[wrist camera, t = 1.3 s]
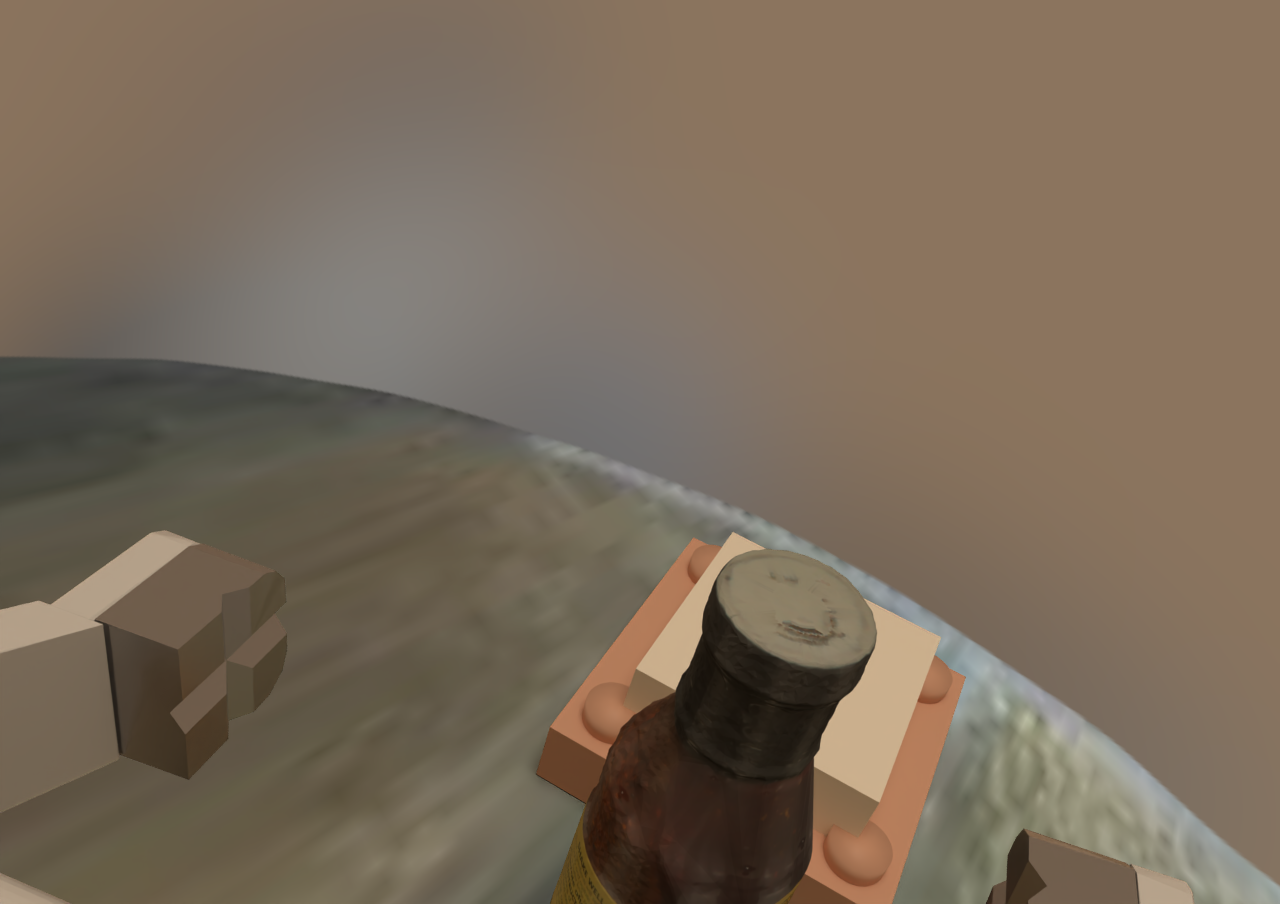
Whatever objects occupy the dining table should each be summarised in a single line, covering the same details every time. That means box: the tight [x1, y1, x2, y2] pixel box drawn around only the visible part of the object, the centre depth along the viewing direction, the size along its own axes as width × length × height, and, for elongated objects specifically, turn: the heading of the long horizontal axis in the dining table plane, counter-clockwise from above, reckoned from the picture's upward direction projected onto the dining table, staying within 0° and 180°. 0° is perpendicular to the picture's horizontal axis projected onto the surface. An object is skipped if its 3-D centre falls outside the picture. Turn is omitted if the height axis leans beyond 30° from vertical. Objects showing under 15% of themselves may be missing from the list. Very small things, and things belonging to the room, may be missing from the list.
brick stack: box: [536, 533, 966, 904], centre depth 46 cm, size 14×14×6 cm
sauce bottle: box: [550, 549, 877, 904], centre depth 31 cm, size 7×6×20 cm
